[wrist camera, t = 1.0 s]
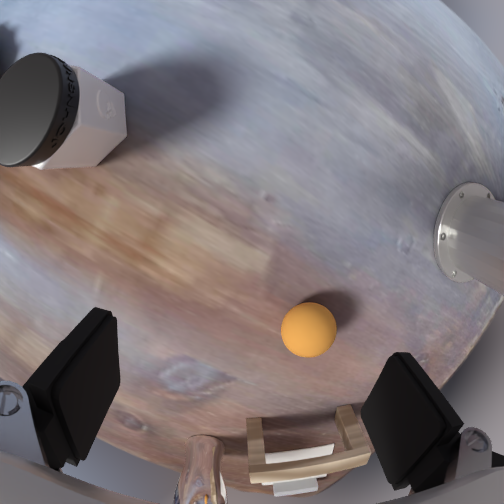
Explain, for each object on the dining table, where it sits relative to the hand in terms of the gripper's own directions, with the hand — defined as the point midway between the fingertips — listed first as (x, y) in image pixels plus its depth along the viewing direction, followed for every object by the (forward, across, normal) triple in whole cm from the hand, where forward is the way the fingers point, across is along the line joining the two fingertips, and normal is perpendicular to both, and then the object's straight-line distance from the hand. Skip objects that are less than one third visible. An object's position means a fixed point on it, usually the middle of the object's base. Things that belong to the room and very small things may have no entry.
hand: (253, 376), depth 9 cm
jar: (+20, +17, -9) cm, 28 cm away
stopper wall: (+20, -17, +44) cm, 51 cm away
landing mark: (+20, -16, +37) cm, 45 cm away
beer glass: (+20, 0, +32) cm, 38 cm away
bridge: (+20, -12, +24) cm, 33 cm away
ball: (+17, -8, +7) cm, 20 cm away
